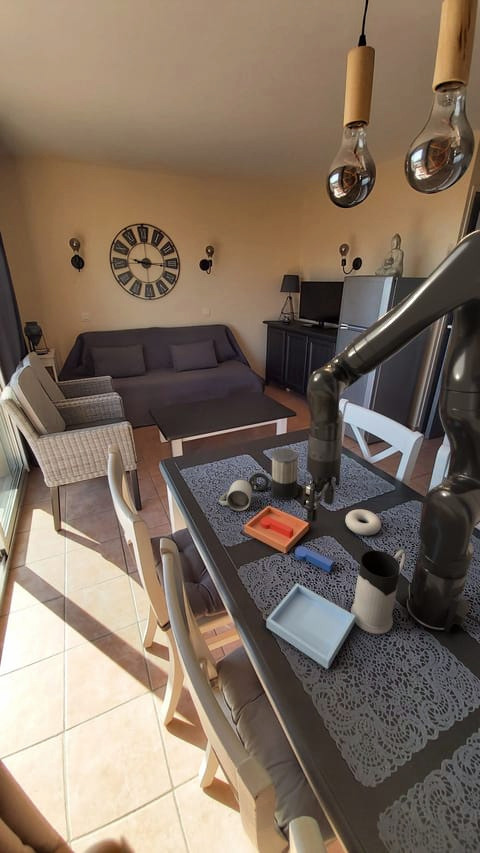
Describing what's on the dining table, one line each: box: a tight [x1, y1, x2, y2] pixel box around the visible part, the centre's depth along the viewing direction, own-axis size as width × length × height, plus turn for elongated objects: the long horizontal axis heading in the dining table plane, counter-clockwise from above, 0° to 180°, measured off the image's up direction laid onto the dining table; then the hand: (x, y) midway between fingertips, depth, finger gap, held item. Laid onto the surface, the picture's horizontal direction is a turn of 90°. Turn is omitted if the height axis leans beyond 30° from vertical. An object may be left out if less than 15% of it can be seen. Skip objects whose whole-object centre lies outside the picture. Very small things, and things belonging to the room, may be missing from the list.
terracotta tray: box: [243, 505, 310, 554], centre depth 105 cm, size 14×12×2 cm
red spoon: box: [261, 517, 294, 538], centre depth 105 cm, size 10×4×2 cm, turn 51°
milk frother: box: [247, 447, 300, 500], centre depth 123 cm, size 14×16×15 cm
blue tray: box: [266, 582, 356, 670], centre depth 77 cm, size 14×12×2 cm
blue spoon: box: [294, 546, 335, 573], centre depth 94 cm, size 10×4×2 cm, turn 51°
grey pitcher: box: [350, 549, 407, 635], centre depth 78 cm, size 9×14×15 cm, turn 126°
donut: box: [344, 508, 382, 536], centre depth 106 cm, size 10×4×10 cm
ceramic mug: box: [218, 479, 253, 512], centre depth 117 cm, size 11×8×8 cm
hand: (320, 511), depth 88 cm, fingers open, 8 cm apart
